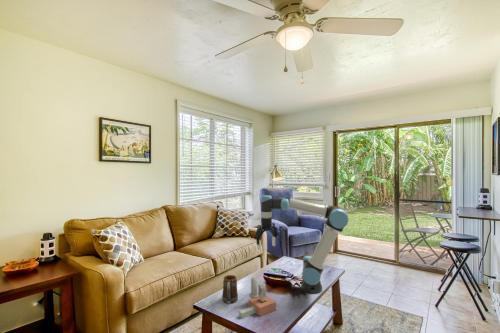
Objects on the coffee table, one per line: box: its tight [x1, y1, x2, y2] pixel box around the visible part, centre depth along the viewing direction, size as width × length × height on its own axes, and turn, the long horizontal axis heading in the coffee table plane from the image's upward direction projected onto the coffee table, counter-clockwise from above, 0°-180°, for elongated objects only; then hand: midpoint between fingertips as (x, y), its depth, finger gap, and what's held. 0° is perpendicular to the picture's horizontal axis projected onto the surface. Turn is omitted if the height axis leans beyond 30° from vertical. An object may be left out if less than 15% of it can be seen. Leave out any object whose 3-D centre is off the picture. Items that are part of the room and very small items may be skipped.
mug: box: [221, 274, 239, 305], centre depth 169 cm, size 16×11×15 cm
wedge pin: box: [257, 282, 267, 304], centre depth 160 cm, size 4×3×15 cm
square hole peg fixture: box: [238, 276, 277, 319], centre depth 160 cm, size 22×17×16 cm
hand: (266, 247), depth 182 cm, fingers open, 13 cm apart
